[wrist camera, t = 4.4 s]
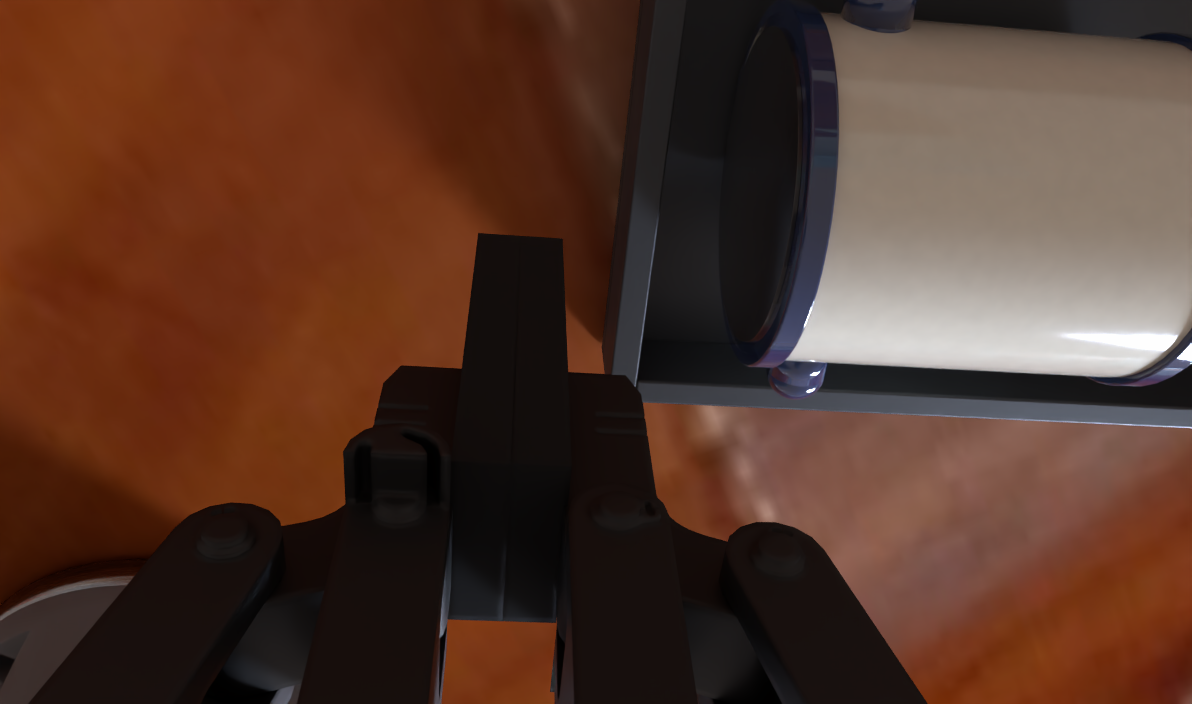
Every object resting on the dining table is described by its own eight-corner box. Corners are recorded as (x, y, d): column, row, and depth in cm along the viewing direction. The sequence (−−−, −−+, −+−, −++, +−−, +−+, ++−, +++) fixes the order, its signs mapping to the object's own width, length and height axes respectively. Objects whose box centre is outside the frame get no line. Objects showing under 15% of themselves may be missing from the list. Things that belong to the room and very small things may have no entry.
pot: (694, 312, 32) (743, 493, 25) (761, -103, 26) (855, -32, 18) (1004, 330, 33) (1143, 509, 25) (1141, -67, 27) (1377, 15, 19)
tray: (601, 347, 33) (607, 402, 31) (662, -196, 25) (677, -187, 23) (1335, 386, 36) (1400, 439, 33) (1606, -100, 28) (1719, -81, 25)
